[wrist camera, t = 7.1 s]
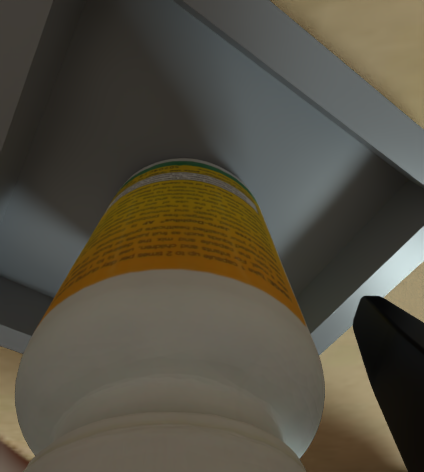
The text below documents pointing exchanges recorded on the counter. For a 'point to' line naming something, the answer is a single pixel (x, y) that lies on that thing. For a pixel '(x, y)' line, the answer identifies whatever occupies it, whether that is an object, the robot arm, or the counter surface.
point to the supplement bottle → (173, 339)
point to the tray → (199, 144)
